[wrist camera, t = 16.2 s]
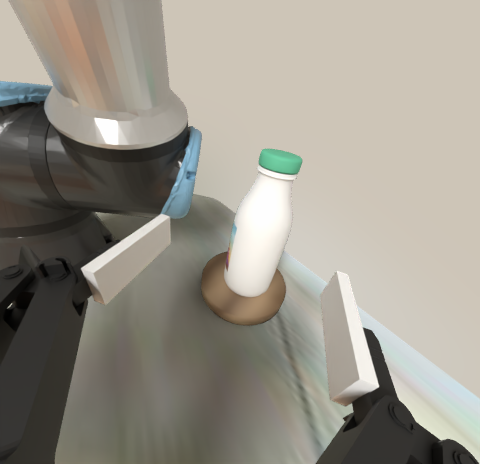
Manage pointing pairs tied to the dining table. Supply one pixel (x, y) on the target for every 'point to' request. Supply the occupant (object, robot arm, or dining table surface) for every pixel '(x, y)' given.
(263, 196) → the milk bottle
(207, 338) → the dining table surface
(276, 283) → the brown round coaster
